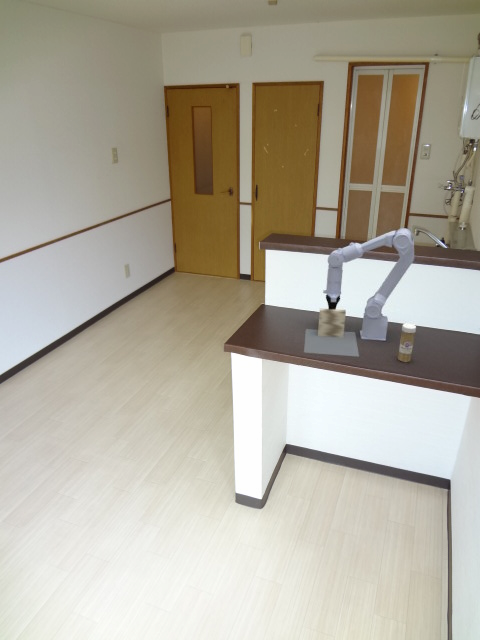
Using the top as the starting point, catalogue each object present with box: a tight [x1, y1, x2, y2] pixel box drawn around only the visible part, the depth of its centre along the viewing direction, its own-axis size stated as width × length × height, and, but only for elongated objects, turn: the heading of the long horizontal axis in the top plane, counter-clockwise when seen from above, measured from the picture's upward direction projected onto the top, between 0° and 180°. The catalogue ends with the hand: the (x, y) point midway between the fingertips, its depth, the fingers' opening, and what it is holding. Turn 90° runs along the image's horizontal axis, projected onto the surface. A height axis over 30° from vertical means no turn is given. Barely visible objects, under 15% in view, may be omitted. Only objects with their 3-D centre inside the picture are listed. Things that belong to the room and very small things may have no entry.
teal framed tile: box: [317, 308, 347, 337], centre depth 182 cm, size 10×2×11 cm, turn 81°
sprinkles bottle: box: [397, 323, 417, 363], centre depth 163 cm, size 5×5×14 cm
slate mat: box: [303, 328, 360, 358], centre depth 178 cm, size 20×22×1 cm
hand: (331, 312), depth 186 cm, fingers closed
